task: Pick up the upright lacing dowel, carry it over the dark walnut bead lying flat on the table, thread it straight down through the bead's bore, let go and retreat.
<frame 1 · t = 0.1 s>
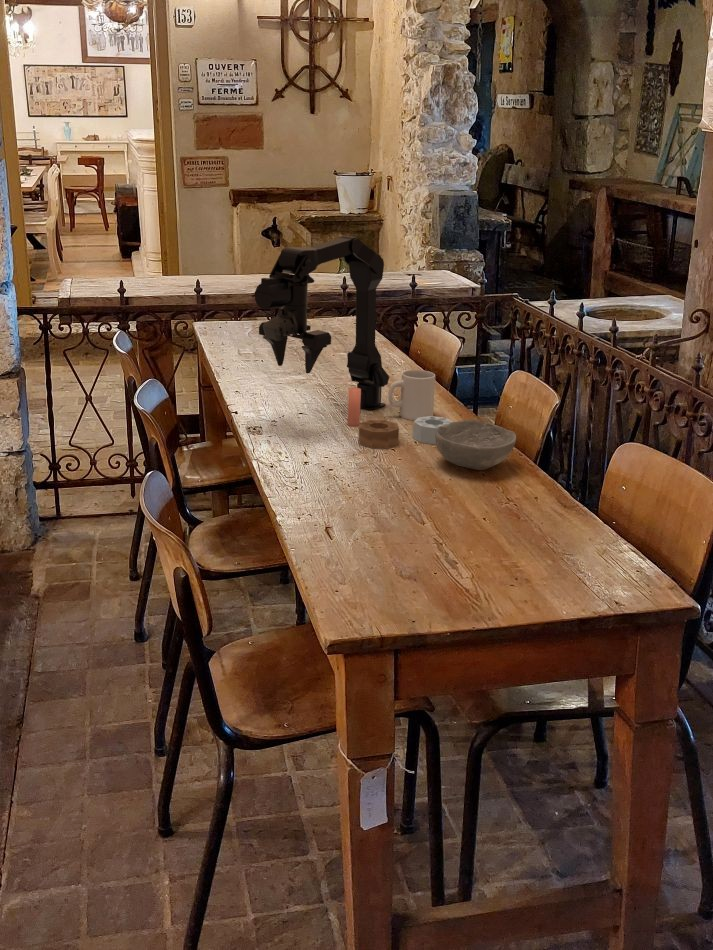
hand: (294, 369, 243), 15 cm above the table, fingers open, 9 cm apart
slate bead: (433, 438, 245), on the table
bowl: (473, 466, 228), on the table
lacing dowel: (353, 424, 253), on the table
walnut bead: (378, 442, 241), on the table
mug: (409, 417, 261), on the table
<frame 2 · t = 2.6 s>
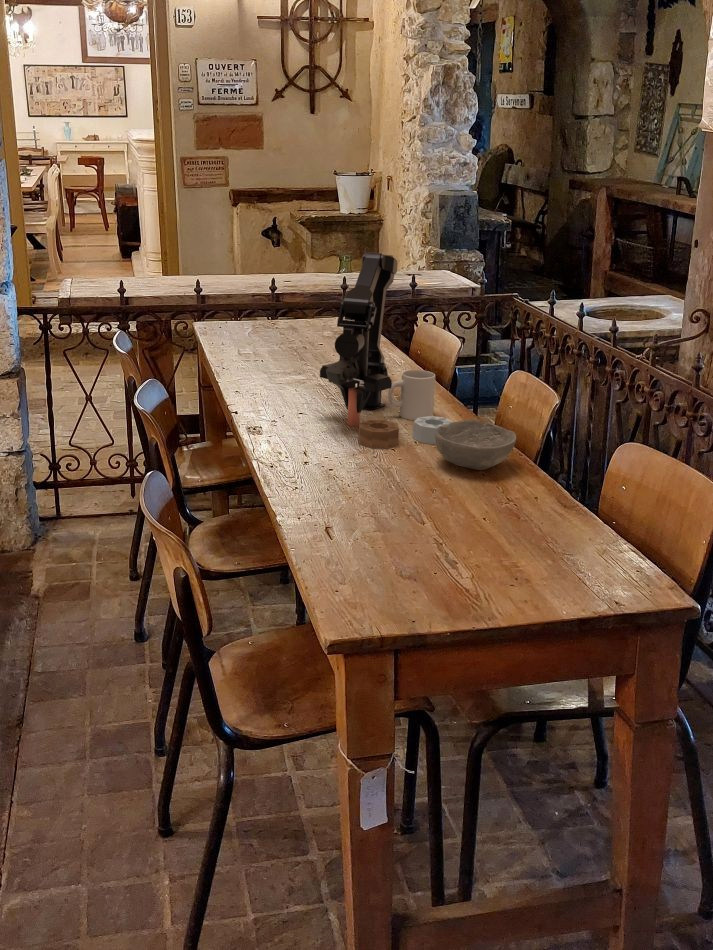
hand: (354, 411, 252), 3 cm above the table, fingers closed on lacing dowel, 3 cm apart
lacing dowel: (353, 424, 253), on the table, touching gripper
everything else where it was.
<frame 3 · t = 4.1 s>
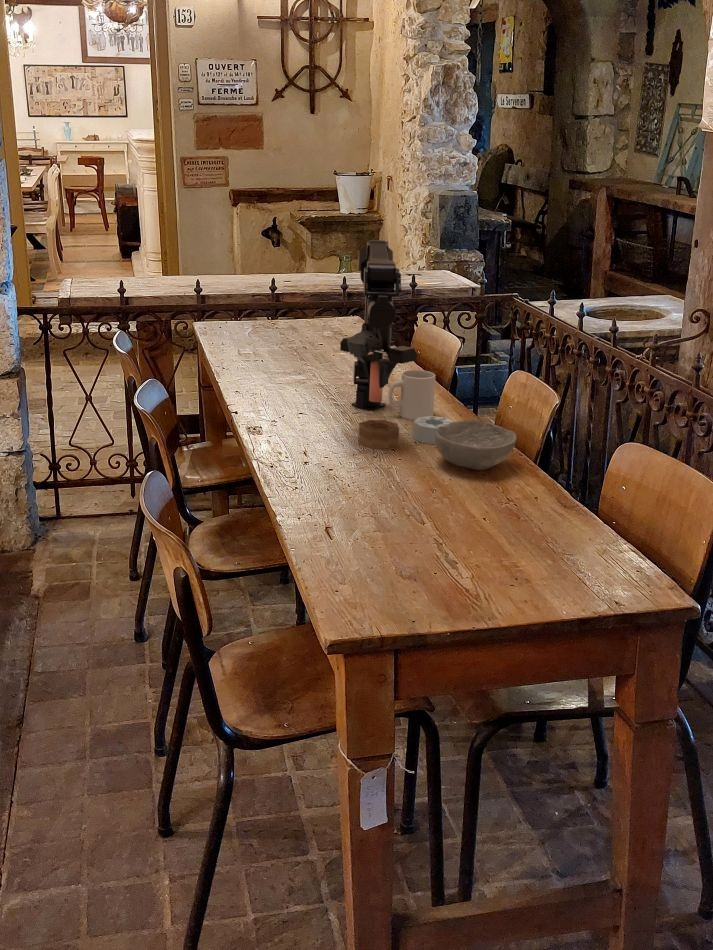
hand: (376, 386, 238), 13 cm above the table, fingers closed on lacing dowel, 3 cm apart
lacing dowel: (375, 400, 239), point 10 cm above the table, touching gripper
everything else where it was.
when the fingers open (5 cm above the table, at t = 5.9 s): lacing dowel drops 2 cm, resting in walnut bead.
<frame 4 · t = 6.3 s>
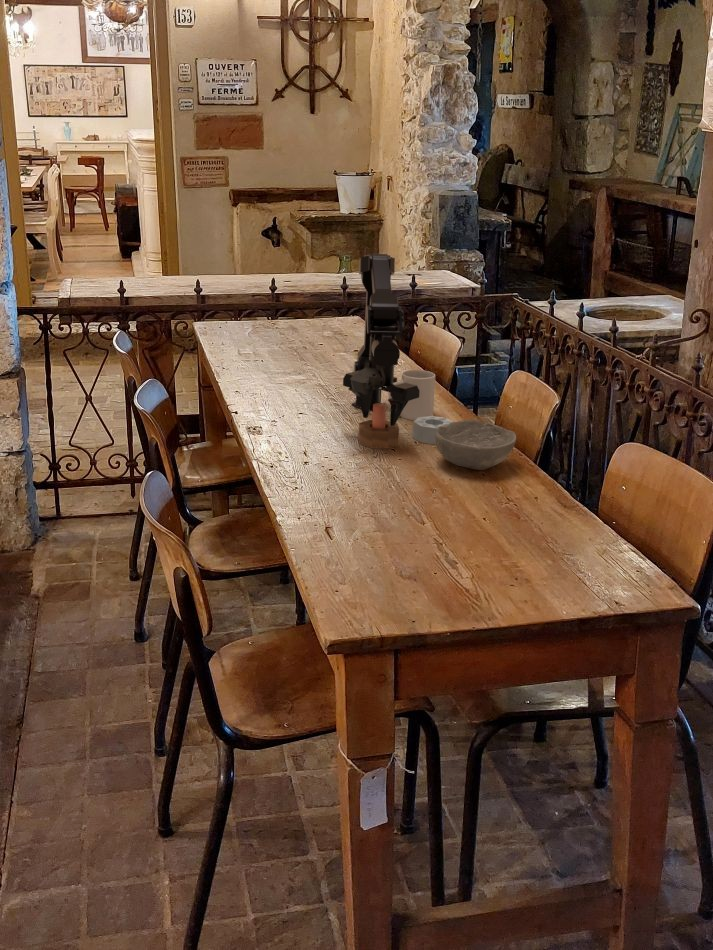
hand: (379, 421, 239), 5 cm above the table, fingers open, 8 cm apart
lacing dowel: (377, 442, 241), resting in walnut bead
everything else where it was.
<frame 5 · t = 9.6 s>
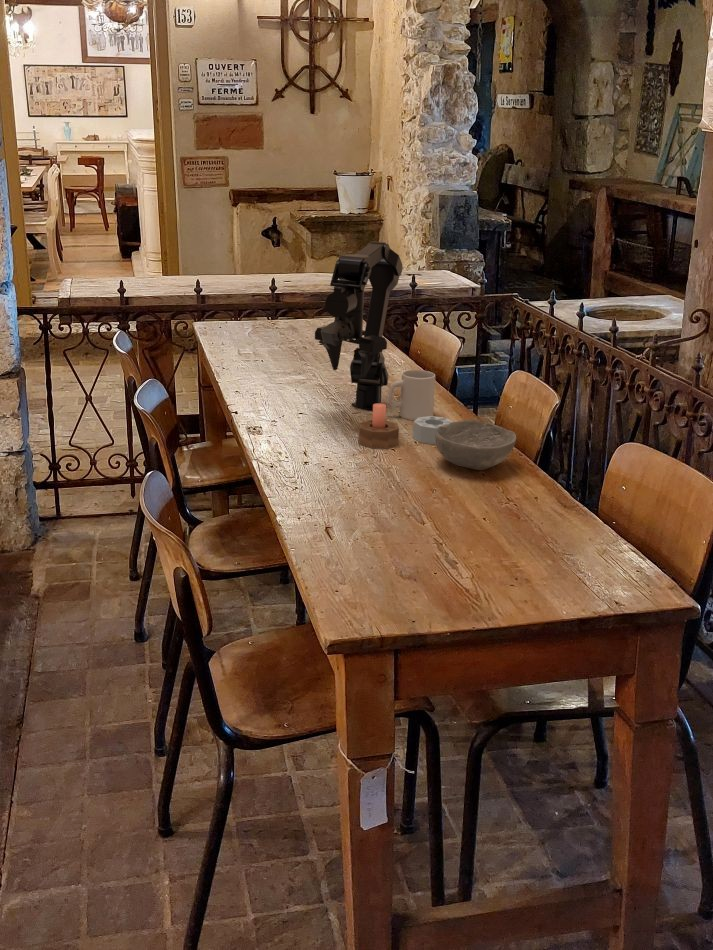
hand: (349, 373, 250), 13 cm above the table, fingers open, 9 cm apart
nothing on the table moved.
at the end: lacing dowel 0.1 cm off-centre on the walnut bead, point 0.0 cm above the walnut bead's base; lacing dowel tilted 0°; the gripper is holding nothing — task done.
